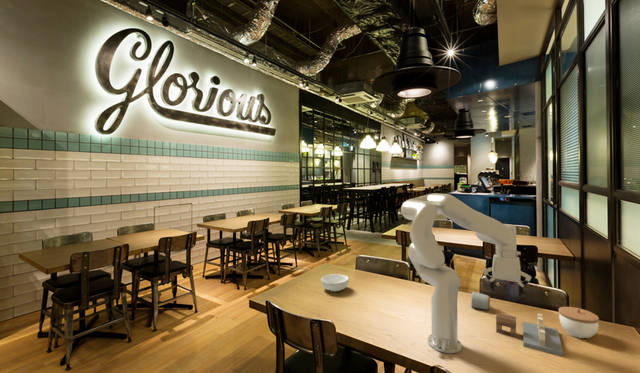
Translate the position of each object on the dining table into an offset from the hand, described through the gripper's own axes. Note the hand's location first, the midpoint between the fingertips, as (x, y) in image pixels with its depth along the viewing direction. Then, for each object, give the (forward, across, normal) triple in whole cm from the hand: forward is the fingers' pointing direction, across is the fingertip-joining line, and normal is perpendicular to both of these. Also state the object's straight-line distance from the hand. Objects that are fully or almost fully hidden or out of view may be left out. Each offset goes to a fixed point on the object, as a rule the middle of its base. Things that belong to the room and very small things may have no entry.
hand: (506, 292), depth 122 cm
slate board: (+18, -12, -2) cm, 21 cm away
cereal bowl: (+17, +88, -1) cm, 90 cm away
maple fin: (+16, -12, -2) cm, 20 cm away
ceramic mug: (+18, +12, -22) cm, 31 cm away
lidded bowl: (+18, -25, -15) cm, 34 cm away
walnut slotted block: (+17, 0, 0) cm, 17 cm away
